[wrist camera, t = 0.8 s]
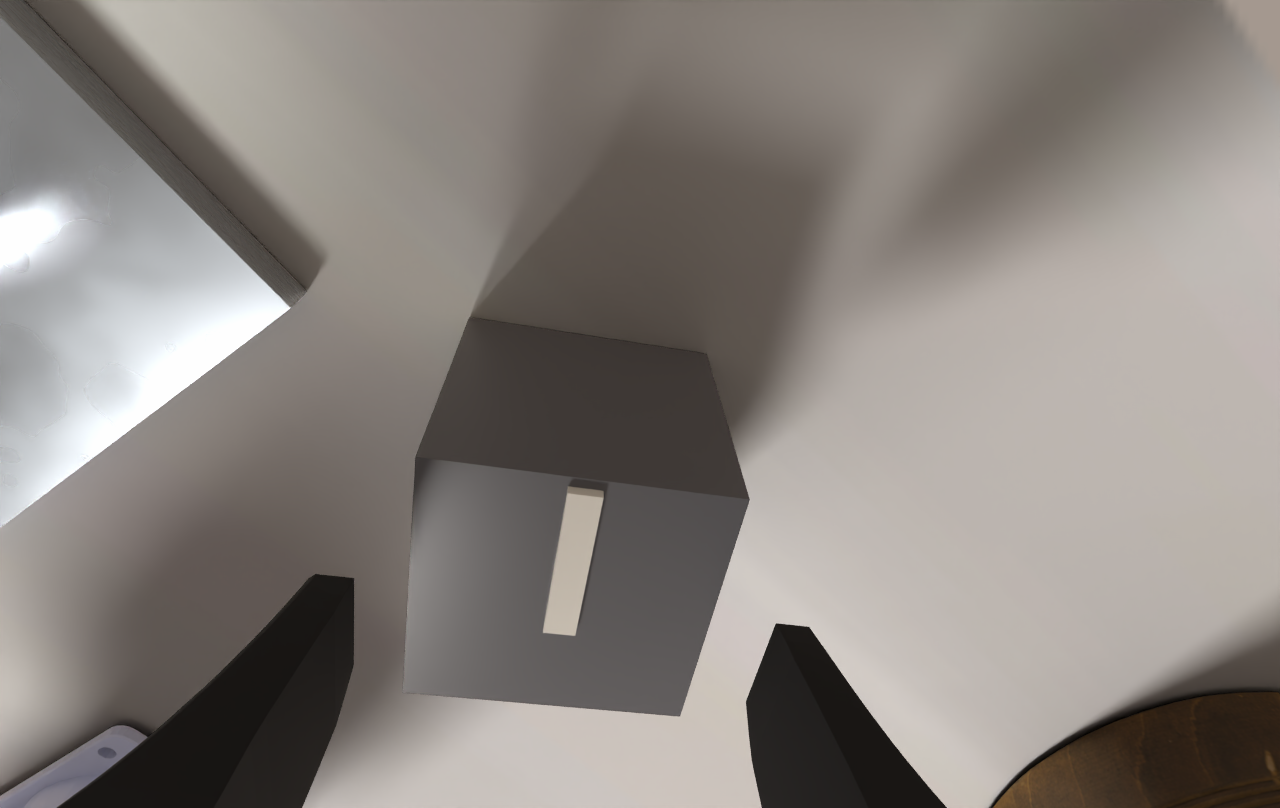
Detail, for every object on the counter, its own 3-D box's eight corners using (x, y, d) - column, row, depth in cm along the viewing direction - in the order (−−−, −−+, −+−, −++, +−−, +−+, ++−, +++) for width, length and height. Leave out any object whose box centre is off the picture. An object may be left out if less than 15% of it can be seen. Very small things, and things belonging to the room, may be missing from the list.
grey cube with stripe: (659, 535, 20) (680, 724, 15) (452, 511, 20) (400, 701, 14) (706, 354, 18) (751, 507, 13) (469, 317, 17) (413, 463, 12)
